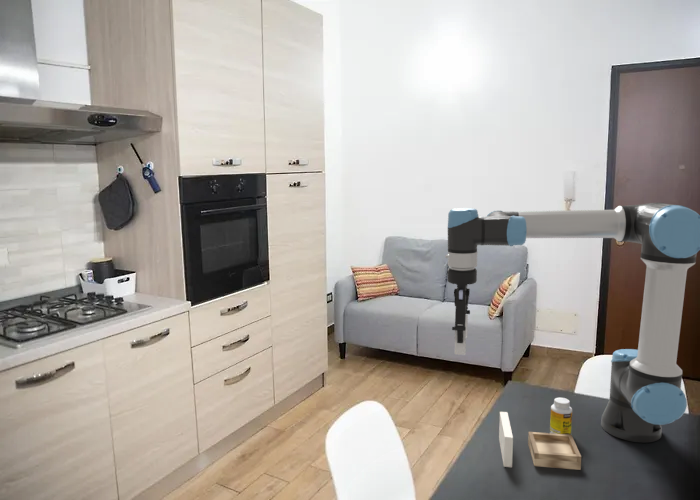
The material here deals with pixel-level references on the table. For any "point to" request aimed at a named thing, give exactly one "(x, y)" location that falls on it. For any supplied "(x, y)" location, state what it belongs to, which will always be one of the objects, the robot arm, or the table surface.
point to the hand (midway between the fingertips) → (461, 345)
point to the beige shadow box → (554, 450)
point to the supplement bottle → (561, 417)
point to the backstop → (505, 439)
